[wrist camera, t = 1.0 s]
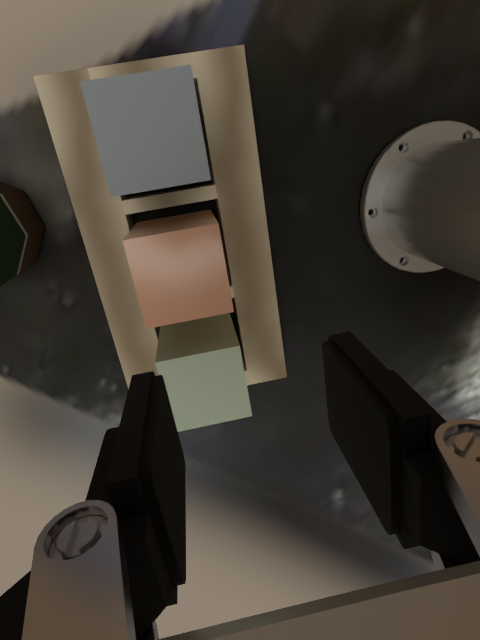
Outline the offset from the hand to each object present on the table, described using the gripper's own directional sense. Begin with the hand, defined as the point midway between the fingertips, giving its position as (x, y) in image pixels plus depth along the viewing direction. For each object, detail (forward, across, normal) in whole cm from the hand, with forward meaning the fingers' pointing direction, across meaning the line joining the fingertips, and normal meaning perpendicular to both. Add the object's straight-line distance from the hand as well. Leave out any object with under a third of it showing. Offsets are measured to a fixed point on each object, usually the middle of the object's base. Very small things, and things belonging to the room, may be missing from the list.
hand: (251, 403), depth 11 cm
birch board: (+25, +2, 0) cm, 25 cm away
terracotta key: (+23, +2, 0) cm, 23 cm away
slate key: (+23, +2, -8) cm, 24 cm away
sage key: (+23, +2, +8) cm, 24 cm away
